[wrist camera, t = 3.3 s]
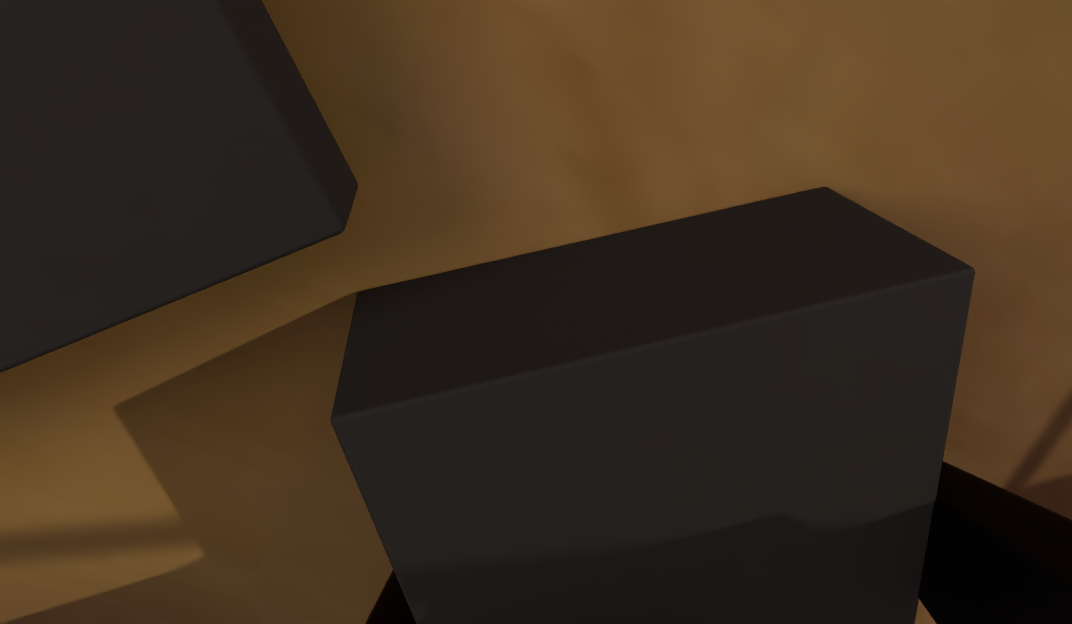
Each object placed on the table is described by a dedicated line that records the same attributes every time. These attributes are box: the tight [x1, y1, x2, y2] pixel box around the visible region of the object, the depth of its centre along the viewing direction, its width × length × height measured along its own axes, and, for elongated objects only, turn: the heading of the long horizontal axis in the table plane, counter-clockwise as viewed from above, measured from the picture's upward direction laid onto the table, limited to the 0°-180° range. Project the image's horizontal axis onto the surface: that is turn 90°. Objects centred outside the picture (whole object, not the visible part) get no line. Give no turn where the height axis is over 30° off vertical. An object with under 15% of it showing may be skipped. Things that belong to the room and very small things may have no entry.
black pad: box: [331, 187, 975, 624], centre depth 9 cm, size 8×6×3 cm
